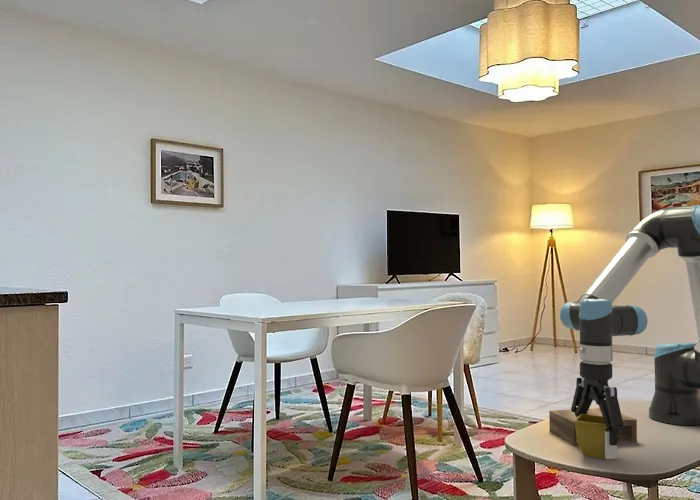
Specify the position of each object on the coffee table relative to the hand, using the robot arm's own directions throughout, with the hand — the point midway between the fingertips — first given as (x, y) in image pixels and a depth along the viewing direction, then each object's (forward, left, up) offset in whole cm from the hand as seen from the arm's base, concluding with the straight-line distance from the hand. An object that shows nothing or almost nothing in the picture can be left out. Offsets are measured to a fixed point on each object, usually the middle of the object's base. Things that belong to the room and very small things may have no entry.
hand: (596, 450), depth 152 cm
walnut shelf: (-8, -15, -1) cm, 17 cm away
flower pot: (0, 0, -2) cm, 2 cm away
